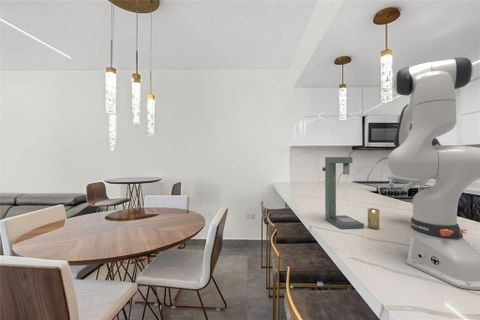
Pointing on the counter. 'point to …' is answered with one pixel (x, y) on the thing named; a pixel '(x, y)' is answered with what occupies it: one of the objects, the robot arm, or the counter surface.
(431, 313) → the counter surface
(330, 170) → the press
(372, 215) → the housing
